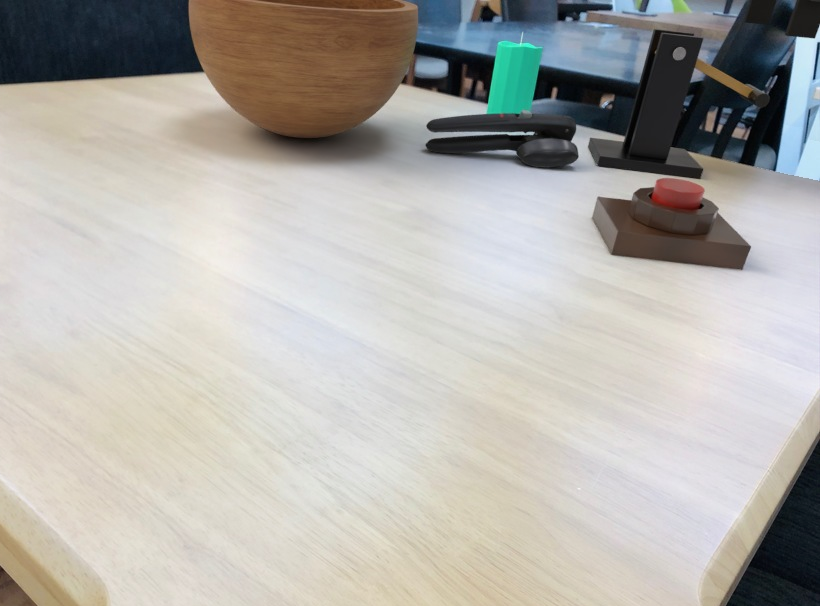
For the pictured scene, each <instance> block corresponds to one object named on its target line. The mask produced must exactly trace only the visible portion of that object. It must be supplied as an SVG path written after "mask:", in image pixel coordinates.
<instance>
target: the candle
mask: <svg viewBox="0 0 820 606" xmlns="http://www.w3.org/2000/svg"><path fill="white" fill-rule="evenodd" d="M520 37H521V38H520V42H519V43H515V42H513V41H509V40H502V41H499V42H497V47H496V53H495V59H494V64H493V71H492V77H491V83H490V89H489V95H488V101H487V102H488V103H487V106H486V113H485V114H496V113H516V114H520V113H521V111H522V110H528V111H530V112H532V111H531V110H532V106H533V102H534V96H535V92H536V91H535V90H536V87H537V80H538V75H539V70H540V65H541V60H542V56H543V55H542V54H543V50H544V46H538V47H537V46H536V45H533V44H531V43H529V42H523V37H524V31H522V32H521V36H520ZM522 42H523V43H522Z"/></svg>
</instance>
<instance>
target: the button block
mask: <svg viewBox="0 0 820 606" xmlns="http://www.w3.org/2000/svg"><path fill="white" fill-rule="evenodd" d="M654 187H655V186H651V187H649V186H648V187H640V188H638V189H637V190H635V191H634V192H633V193H632V197H631V199H624V198H614V197H604V196H596V197H597V198H596V200H595V205H594V209H593V212H592V217H591V219H592V221H593V223H594V225H595V227H596V229H597V230H598V232H599V234H600V236H601V238H602V240H603V241H604V243H605V245H606V248H607V249H608V251H609V253H610V255H611V256H617V257H626V258H627V257H628V258H633V259H634V258H635V259H644V260H652V261H660V262H669V263H678V264H687V265H696V266H703V267H704V266H705V267H713V268H721V269H729V270H740V271H742V270H743V269H744V266H745V264H746V262H747V259H748V256H749V254H750V252H751V248H752V246H751V245H750V244H749V242H748V241H747V240H745V239H744V238H743V236H741V234H739V232H738V231H737V230H735V229H734V227H733V226H732V225H730V223H729V222H728V221H727V220H726V219H725V218H724V217H723V216H722V215H721V213H719V211H720V208H719V207H718V206H717V205H716V204H715V203H714V202H713V201H712V200H710V199H707V198H705V197H703V198H702V201H701V204H700V207H699V209H697V210H686V209H678V208H673V207H669V206H665V205H661V204H659V203H657V202H655V201H653V200H651V197H652V194H653V190H654Z"/></svg>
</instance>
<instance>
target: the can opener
mask: <svg viewBox="0 0 820 606" xmlns="http://www.w3.org/2000/svg"><path fill="white" fill-rule="evenodd" d="M576 123H577V122H576V121H575V119H574V118H573V117H571V116H569V115H563V114H551V113H550V114H549V113H547V114H546V113H532V111H528V110H522V111H521V113H520V114H516V113H496V114H486V113H479V114H468V115H457V116H447V117H440V118H434V119H431V120H429V121H428V122H427V123H426V125H425V127H426V129H427V130H428V131H430V132H431V133H496V134H479V135H461V136H460V135H459V136H447V137H436V138H435V137H434V138H431V139H429V140H428V141H427V142H426V143H425V148H426V149H427V150H429V152H432V153H440V154H441V153H442V154H472V153H482V152H491V151H493V152H494V151H512V152H515V154H516V156H517V157H518V158H519V159H520V160H521V161H522V163H524V164H525V165H528V166H530V167H535V168H558V167H559V168H560V167H564V166H567V165H571V164H572V163H575V162H576V161H577V160H579V158H580V157H579V156H580V155H579V150H578V146H577V145H576V143H574V142H572V141H573V139H574V137H575V135H576V132H577V124H576ZM498 133H499V134H498ZM508 133H524V134H508ZM528 133H532V134H528Z"/></svg>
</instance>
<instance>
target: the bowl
mask: <svg viewBox="0 0 820 606" xmlns="http://www.w3.org/2000/svg"><path fill="white" fill-rule="evenodd" d="M188 21H189V29H190V34H191V40H192V44H193V47H194V51H195V53H196V56H197V60H198V61H199V64H200V65H201V68H202V70H203V72H204V74H205V76H206V77H207V79H208V81H209V83H210V84H211V86H212V87H213V88H214V90H215V92H217V93H218V95H219V96H220V97H221V98H222V99H223V101H224V102H225V103H226V104H227V105H228V106H229V107H230V108H232V109H233V110H234V111H235V112H236V113H237V114H239V115H240V116H241V117H243V118H244V119H245V120H247V121H248V122H250V123H252V124H254V125H255V126H257V127H259V128H261V129H264V130H265V131H268V132H271V133H274V134H277V135H281V136H285V137H289V138H298V139H320V138H325V137H331V136H335V135H338V134H342V133H344V132H347V131H350V130H352V129H353V128H356V127H357V126H359V125H361V124H364V122H366V121H368V120H369V119H371V117H373V116H374V115H375V114H377V112H379V111H381V109H382V108H383V107H384V106H385V105H386V104H387V103H388V102H389V101H390V99H391V98H392V97H393V96H394V94H395V93H396V91H398V90H397V89H399V87H400V85H401V83H402V82H403V80H404V78H405V76H406V74H407V72H408V70H409V67H410V65H411V62H412V59H413V55H414V53H415V47H416V43H417V38H418V31H419V29H418V28H419V6H418V5H417V4H415V3H412V2H411V1H407V0H188Z"/></svg>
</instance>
